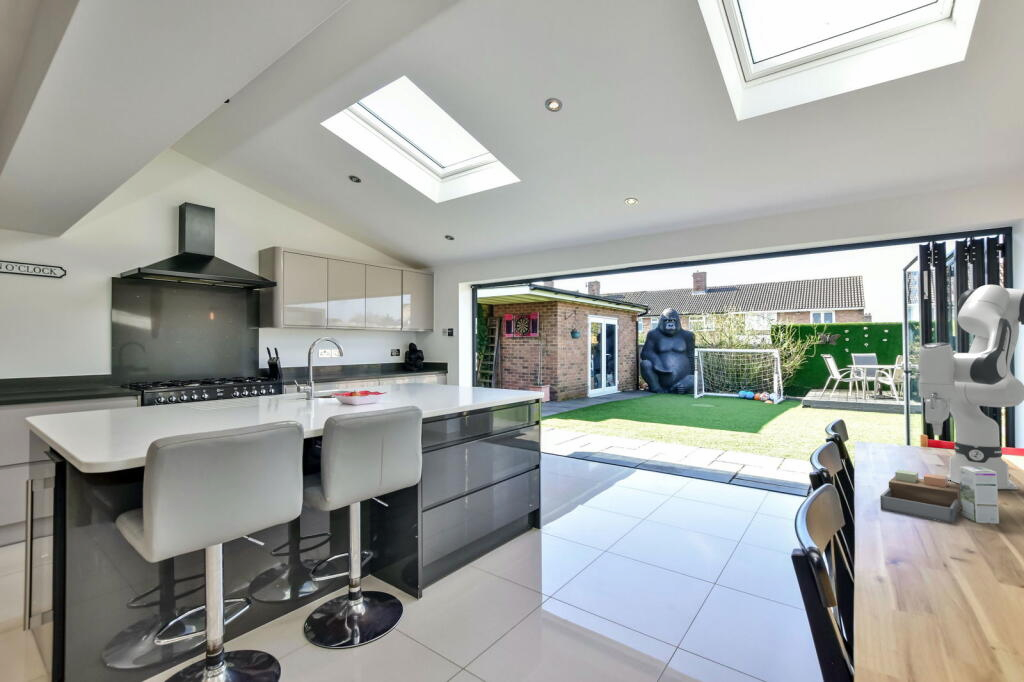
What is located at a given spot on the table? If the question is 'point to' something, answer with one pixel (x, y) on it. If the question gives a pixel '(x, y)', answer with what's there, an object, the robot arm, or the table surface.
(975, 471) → the syrup box
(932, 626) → the table surface
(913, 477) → the sage-green tile
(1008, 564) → the table surface
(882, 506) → the box
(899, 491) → the brown rectangular block
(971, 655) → the table surface
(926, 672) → the table surface
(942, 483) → the terracotta tile
